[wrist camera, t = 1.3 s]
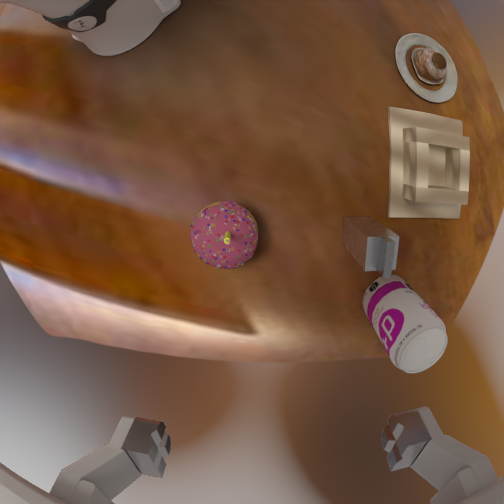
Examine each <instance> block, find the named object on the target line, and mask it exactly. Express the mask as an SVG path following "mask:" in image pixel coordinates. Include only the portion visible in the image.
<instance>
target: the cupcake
mask: <svg viewBox="0 0 504 504" xmlns="http://www.w3.org/2000/svg"><path fill="white" fill-rule="evenodd" d="M190 238H191V240H190V241H191V242H192V245H193V248H194V250H195V251H194V252H196V253H197V255H198V257H200V258H201V259H202V260H203V261H205V262H206V264H209V265H211V266H214V267H217V268H224V269H233V268H236V267H239V266H240V265H243V264H244V262H246V261H247V260H249V259H251V257H252V256H253V254H254V251H255V248H256V245H257V241H258V226H257V223H256V221H255V219H254V217H253V216H252V214H251V212H250V211H249V210H247V209H246V208H244V207H242V206H240V205H239V204H238V203H236V202H232V201H223V202H215V203H212V204H210V205H207V206H205V207H204V208H203V209H202V210H201V211H200V212H199V213H198V215H197V216H196V217H195V218H194V220H193V222H192V225H191V233H190Z"/></svg>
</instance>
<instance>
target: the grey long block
mask: <svg viewBox="0 0 504 504" xmlns="http://www.w3.org/2000/svg"><path fill="white" fill-rule="evenodd" d="M342 244H343V246H344V247H345V248H346V249H347V250H348V252H349V253H350V254H351V255H352V256H353V258H354V259H355V260H356V261H357V263H358V264H359V265H360V266H361V267H362V269H363V270H364V271H377V272H378V273H379V274H380V275H381V276H382V277H383V278H389V277H391V273H392V270H395V269H396V262H397V254H398V245H399V236H398V235H397V234H395V233H394V232H392V231H391V230H389V229H388V228H386V227H385V226H383V225H382V224H380V223H379V222H377V221H376V220H374V219H373V218H371V217H370V216H350V217H343V237H342Z"/></svg>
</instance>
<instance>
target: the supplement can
mask: <svg viewBox="0 0 504 504" xmlns="http://www.w3.org/2000/svg"><path fill="white" fill-rule="evenodd" d="M362 306H363V309H364V312H365V314H366V315H367V317H368V319H369V321H370V322H371V324H372V326H373V328H374V330H375V331H376V333H377V335H378V337H379V339H380V340H381V342H382V344H383V346H384V348H385V349H386V351H387V353H388V355H389V357H390V358H391V361H392V362H393V364H394V365H395V366H396V367H397V368H399V369H402V370H404V371H405V372H407V373H418V372H421V371H423V370H426V369H428V368H429V367H430V366H432V365H433V364H435V362H436V361H437V360H438V359H439V358H440V357H441V356H442V354H443V352H444V351H445V349H446V345H447V335H446V328H445V325H444V323H443V322H442V320H441V319H440V318H439V317H438V316H437V315H436V313H435V312H434V311H433V310H432V309H431V308H430V307H429V306H428V305H427V304H426V303H425V301H424V300H423V299H422V298H421V297H420V296H419V295H418V294H417V293H416V292H415V291H414V290H413V289H412V288H411V287H410V286H409V285H408V284H407V283H406V282H405V281H404V280H403V279H402V278H401V277H399V276H397V275H391V277H389V278H383V277H379V278H378V279H376V280H375V281H373V282H372V283H371V284H370V286H369V287H368V288H367V289H366V291H365V294H364V296H363V304H362Z"/></svg>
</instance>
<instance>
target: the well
mask: <svg viewBox="0 0 504 504" xmlns="http://www.w3.org/2000/svg"><path fill="white" fill-rule="evenodd" d="M388 121H389V155H390V169H389V203H388V217H402V218H456V219H460V211H461V205H468V192H469V172H470V138H469V137H465V136H463V127H462V121H460V120H456V119H452V118H448V117H443V116H439V115H434V114H430V113H425V112H419V111H414V110H408V109H402V108H395V107H388Z"/></svg>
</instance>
